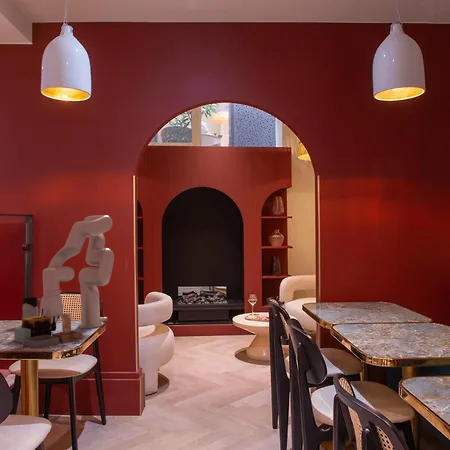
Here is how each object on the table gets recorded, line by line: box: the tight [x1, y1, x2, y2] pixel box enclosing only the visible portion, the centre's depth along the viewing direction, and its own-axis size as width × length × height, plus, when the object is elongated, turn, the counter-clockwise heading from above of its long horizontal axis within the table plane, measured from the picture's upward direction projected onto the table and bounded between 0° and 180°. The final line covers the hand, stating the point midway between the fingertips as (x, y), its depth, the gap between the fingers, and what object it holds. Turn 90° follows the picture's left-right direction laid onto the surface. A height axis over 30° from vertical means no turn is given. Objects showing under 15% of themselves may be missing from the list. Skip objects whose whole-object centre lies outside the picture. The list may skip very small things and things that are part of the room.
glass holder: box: [22, 297, 41, 319], centre depth 274 cm, size 9×14×15 cm, turn 167°
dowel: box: [61, 313, 72, 335], centre depth 232 cm, size 4×4×12 cm
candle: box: [21, 315, 53, 337], centre depth 235 cm, size 10×10×10 cm
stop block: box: [13, 326, 31, 344], centre depth 230 cm, size 3×10×6 cm, turn 48°
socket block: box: [51, 330, 83, 344], centre depth 232 cm, size 10×10×3 cm
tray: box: [23, 334, 60, 349], centre depth 223 cm, size 11×11×3 cm
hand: (52, 330), depth 241 cm, fingers closed
